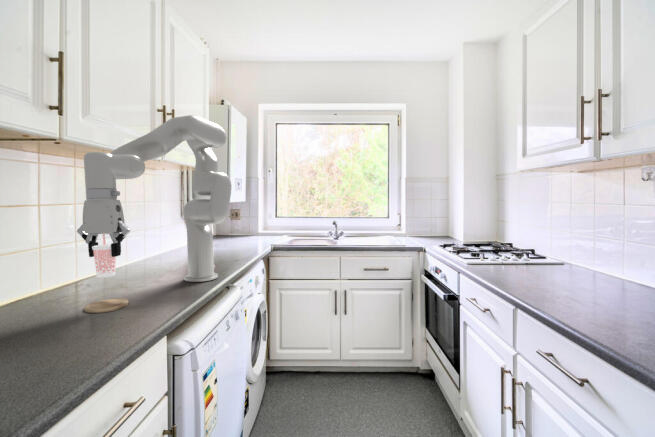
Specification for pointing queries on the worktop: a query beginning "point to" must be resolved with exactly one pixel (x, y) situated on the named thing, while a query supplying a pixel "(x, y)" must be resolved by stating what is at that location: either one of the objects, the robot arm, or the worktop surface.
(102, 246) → the beverage cup
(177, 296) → the worktop surface
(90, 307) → the plate
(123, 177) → the robot arm
